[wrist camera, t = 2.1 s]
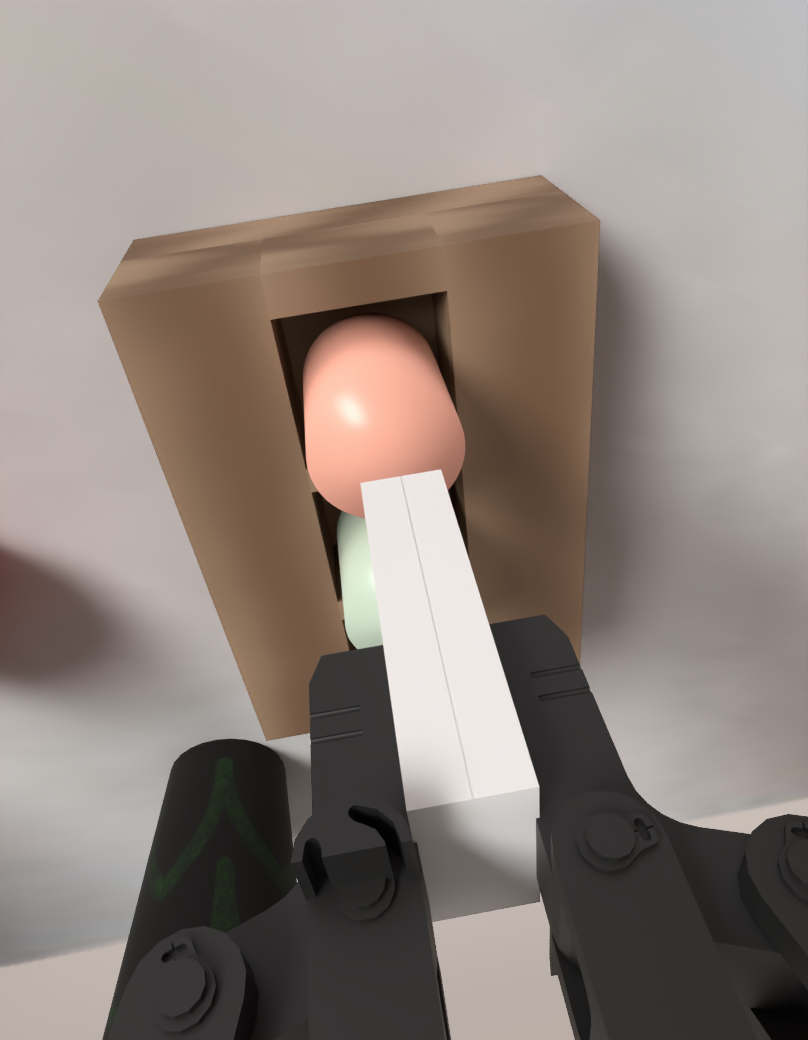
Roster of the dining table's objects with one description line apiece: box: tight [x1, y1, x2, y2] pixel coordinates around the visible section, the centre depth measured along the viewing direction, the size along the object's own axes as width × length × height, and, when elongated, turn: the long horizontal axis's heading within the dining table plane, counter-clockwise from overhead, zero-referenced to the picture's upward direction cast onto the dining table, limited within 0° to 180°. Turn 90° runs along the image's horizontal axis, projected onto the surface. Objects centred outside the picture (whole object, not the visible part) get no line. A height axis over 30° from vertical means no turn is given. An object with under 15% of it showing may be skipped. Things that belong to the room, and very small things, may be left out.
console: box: [98, 175, 600, 741], centre depth 24 cm, size 12×17×5 cm
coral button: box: [303, 313, 465, 518], centre depth 18 cm, size 4×4×4 cm
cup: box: [103, 739, 297, 1040], centre depth 31 cm, size 8×8×12 cm
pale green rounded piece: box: [337, 511, 383, 649], centre depth 21 cm, size 4×4×4 cm
